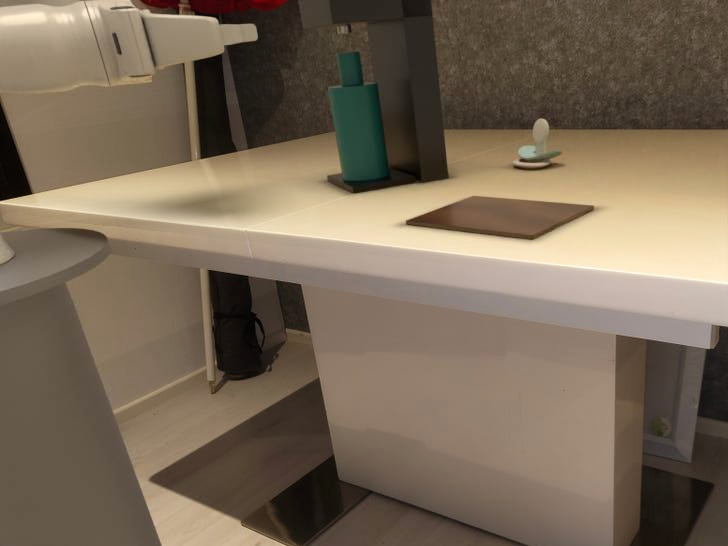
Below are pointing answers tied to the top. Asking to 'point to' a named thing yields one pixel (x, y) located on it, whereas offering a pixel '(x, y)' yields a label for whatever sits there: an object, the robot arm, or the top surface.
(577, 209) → the board
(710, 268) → the top surface
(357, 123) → the bottle
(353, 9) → the dark post on base
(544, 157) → the pacifier
